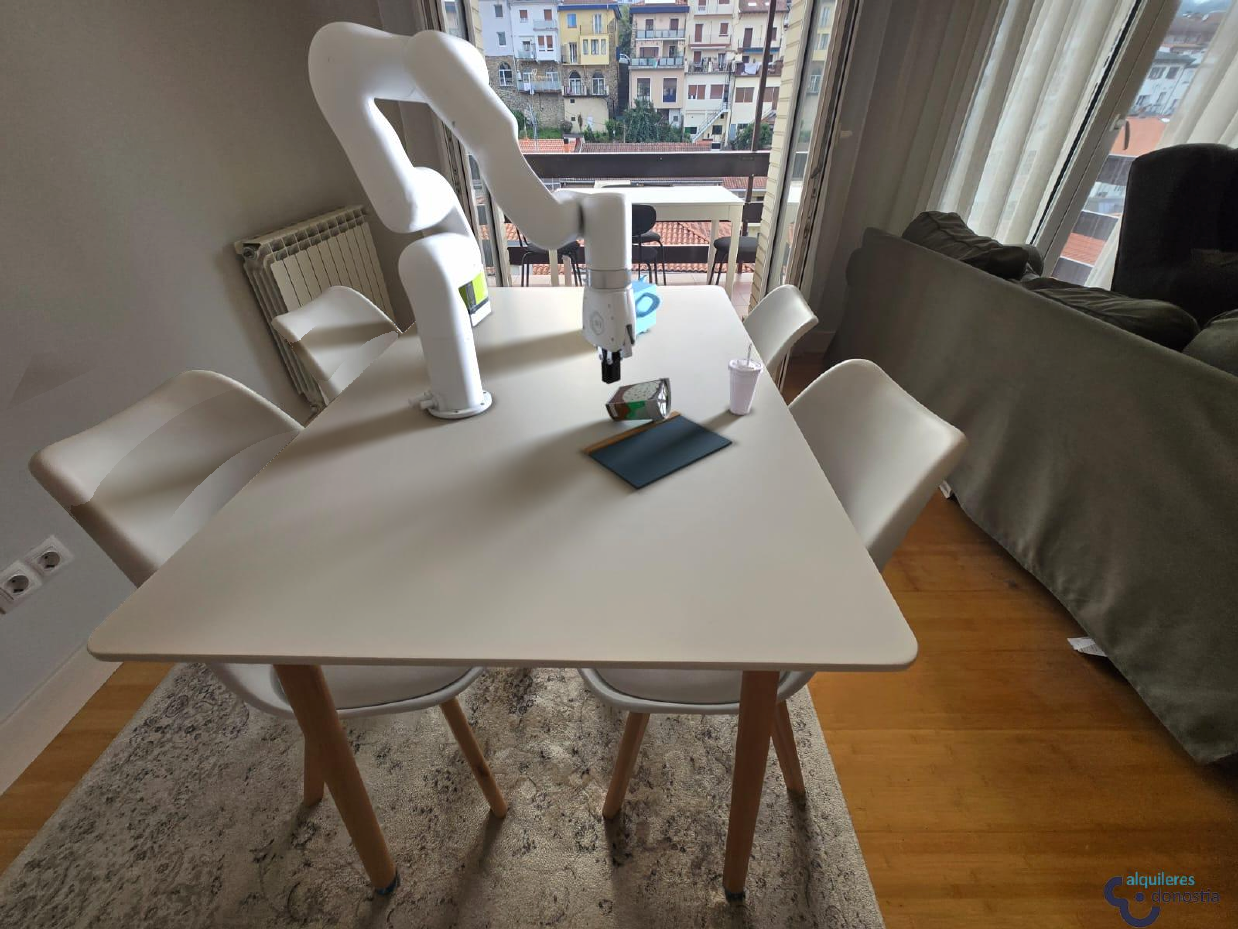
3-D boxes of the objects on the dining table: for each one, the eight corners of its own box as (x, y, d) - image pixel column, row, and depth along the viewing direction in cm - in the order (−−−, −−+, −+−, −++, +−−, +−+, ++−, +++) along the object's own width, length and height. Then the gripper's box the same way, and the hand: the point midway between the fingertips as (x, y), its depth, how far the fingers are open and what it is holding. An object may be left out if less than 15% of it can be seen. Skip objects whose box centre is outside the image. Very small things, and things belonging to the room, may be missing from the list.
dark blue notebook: (637, 489, 78) (637, 485, 78) (584, 452, 88) (583, 448, 88) (732, 443, 90) (732, 439, 89) (675, 414, 99) (675, 410, 99)
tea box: (461, 311, 160) (452, 262, 152) (491, 312, 159) (484, 262, 150) (440, 326, 147) (429, 273, 139) (473, 327, 146) (464, 274, 138)
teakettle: (664, 340, 135) (666, 283, 127) (595, 346, 132) (593, 288, 124) (645, 319, 151) (646, 267, 143) (583, 324, 147) (580, 271, 140)
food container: (611, 438, 93) (663, 432, 90) (602, 407, 91) (655, 400, 87) (628, 412, 104) (675, 406, 100) (621, 384, 101) (669, 376, 98)
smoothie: (736, 420, 97) (746, 350, 89) (716, 407, 102) (723, 339, 94) (762, 413, 99) (774, 344, 92) (741, 400, 104) (750, 334, 97)
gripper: (564, 273, 86) (571, 374, 96) (619, 290, 77) (621, 400, 87) (599, 267, 90) (603, 364, 100) (656, 282, 80) (653, 388, 90)
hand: (611, 380), depth 93 cm, fingers closed
